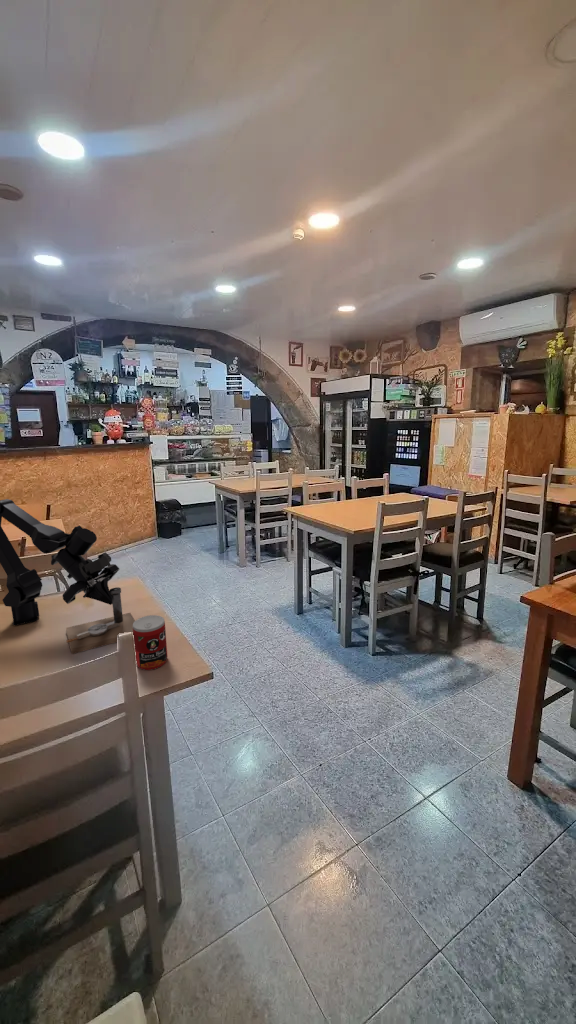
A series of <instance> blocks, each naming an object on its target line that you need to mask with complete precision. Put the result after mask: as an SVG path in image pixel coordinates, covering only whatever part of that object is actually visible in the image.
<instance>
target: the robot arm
mask: <svg viewBox="0 0 576 1024" xmlns="http://www.w3.org/2000/svg"><path fill="white" fill-rule="evenodd" d="M15 503H16V502H14V501H13V500H12V499H9V498H5V499H1V500H0V565H1V567H2V568H3V570H4V572H5V573H6V576H7V577H6V588H7V590H8V592H7V593H6V595H5V596H4V597H3V598H2V603H3V604H4V606H5V607H9V608H10V610H11V614H12V615H11V616H12V626H13V625H15V626H20V625H23V624H28V623H33V622H37V621H39V617H40V610H39V603H38V601H36V600H35V599H36V598H39V597H40V596H41V590H42V589H43V582H42V578H41V577H40V576H39V573H38V571H37V570H36V569H35V568H32V569H29V568H27V567H26V566H25V565H24V563H23V562H22V560H21V558H20V556H19V555H18V552H17V551H16V549H15V547H14V546H13V544H12V543H11V541H10V539H9V537H8V536H7V534H6V532H5V531H4V529H3V527H2V519H4V520H6V521H8V522H9V523H10V524H12V525H13V526H14V527H16V528H17V529H19V530H20V531H21V532H22V533H24V534H26V535H27V536H28V537H29V538H30V539H31V542H32V545H34V546H35V548H37V549H38V550H39V551H40V552H41V553H43V554H51V553H53V552H56V551H58V550H59V551H58V552H57V553H53V554H51V560H50V565H52V566H53V565H56V564H59V565H60V566H61V567H62V568H63V570H64V571H66V573H67V578H68V580H70V579H72V578H73V579H74V581H76V582H74V583H72V584H70V585H69V587H67V589H66V590H65V591H64V592H63V594H62V600H63V602H65V603H66V604H67V605H69V604H70V603H73V602H74V601H76V596H77V594H81V593H82V592H83V593H84V594H83V596H82V598H84V599H86V598H87V599H91V600H96V601H99V602H101V603H104V604H107V605H110V606H113V605H112V596H111V594H110V589H109V581H111V580H112V579H113V578H114V576H116V574H117V573H118V572H119V571H120V567H119V566H118V565H116V564H113V563H111V562H112V557H111V556H110V554H108V553H107V552H106V551H105V552H102V553H101V554H98V555H97V559H95V560H92V559H90V558H87V559H85V558H84V555H86V554H87V553H88V551H89V550H90V549H91V548H92V546H93V545H94V544H95V543H96V541H97V539H98V537H97V534H95V532H94V531H93V530H90V529H87V528H86V527H85V528H84V527H82V526H81V525H77V526H75V527H73V528H72V530H71V532H70V533H66V532H65V531H64V530H62V529H60V528H58V527H55V526H53V525H49V524H45V523H43V522H41V521H40V520H38V519H37V518H36V517H34V516H33V515H31V514H30V513H28V512H26V511H25V510H24V509H23V508H21V507H20V506H18V505H17V504H15Z"/></svg>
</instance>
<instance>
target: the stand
mask: <svg viewBox="0 0 576 1024" xmlns="http://www.w3.org/2000/svg"><path fill="white" fill-rule="evenodd" d="M122 615H123V622H121V623H120V626H117V627H115V628H112V629H109V630H108V631H107V632H106V633H104V634H102V635H99V636H87V637H84V638H81V639H77V634H80V633H83V632H86V631H88V628H89V627H91V626H93V625H96V624H107V623H110V622H113V621H114V616H109V617H107V618H103V619H102V618H101V619H97V620H94V621H89V622H85V623H80V624H76V625H73V626H68V627H65V630H66V631H65V632H66V637H67V639H66V641H65V642H66V643H67V644H69V649H70V654H71V655H74V654H78V653H81V652H85V651H88V650H93V649H96V648H100V647H103V646H107V645H111V644H114V643H118V642H117V635H118V634H119V633H124V632H133V623H134V622H135V621H136V619H135V618H134V616H133V615H132V612H127V613H122Z"/></svg>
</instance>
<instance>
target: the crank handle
mask: <svg viewBox="0 0 576 1024" xmlns="http://www.w3.org/2000/svg"><path fill="white" fill-rule="evenodd" d="M109 590H110V594H111V596H112V605H111V606H112V612H113V617H114V621H113V622H110V623H107V624H96V625H93V626H91V627H89V628H88V631H86V632H83V633H80V634H77V639H81V638H84V637H87V636H99V635H102V634H104V633H106V632H107V631H108V630H109V629H112V628H115V627H117V626H120V623H121V622H123V615H122V614H123V607H122V606H123V605H122V598H121V593H122V588H121V587H112V588H111V589H109Z"/></svg>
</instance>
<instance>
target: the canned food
mask: <svg viewBox="0 0 576 1024" xmlns="http://www.w3.org/2000/svg"><path fill="white" fill-rule="evenodd" d="M133 635H134V638H133V643H134V644H135V646H134V652H136V655H135V662H136V661H137V663H136V665H137V667H138V668H139V669H140V668H141V669H140V670H143V669H145V670H144V671H152V670H151V669H153V670H156V669H159V668H161V667H162V666H164V665H165V664H166V663H167V660H168V644H167V643H168V642H167V632H166V621H165V618H164V617H163V616H162V615H161V616H160V615H157V614H154V615H153V614H152V615H151V614H150V615H144V616H142V617H139V618H138V619H135V622H134V623H133ZM158 667H159V668H158ZM155 668H156V669H155Z"/></svg>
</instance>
